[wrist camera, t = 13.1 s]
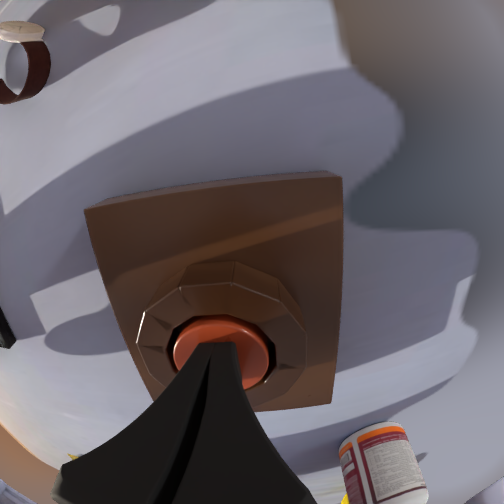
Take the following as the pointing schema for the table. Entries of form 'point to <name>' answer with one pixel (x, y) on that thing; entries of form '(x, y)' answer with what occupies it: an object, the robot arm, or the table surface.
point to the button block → (230, 274)
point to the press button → (226, 330)
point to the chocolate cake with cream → (37, 58)
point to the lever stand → (5, 333)
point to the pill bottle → (381, 467)
